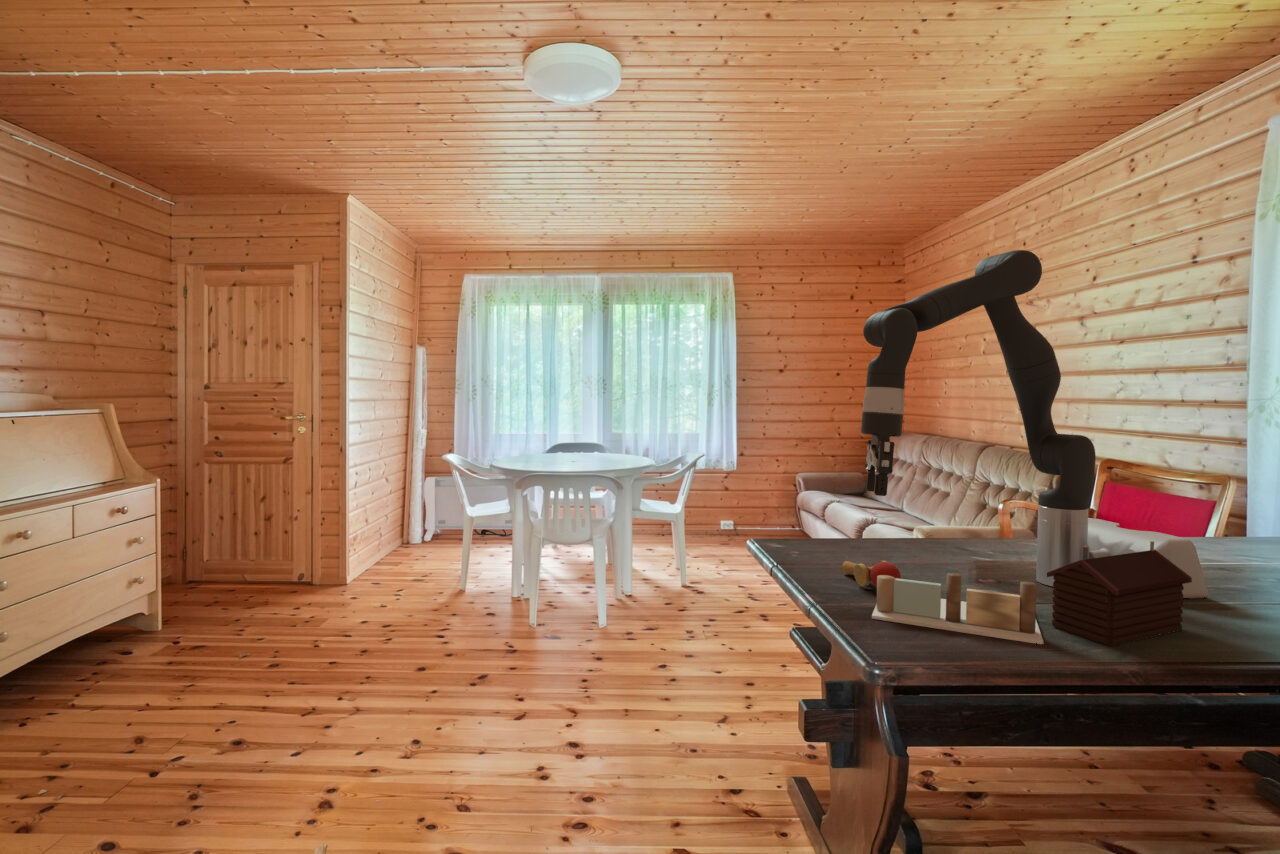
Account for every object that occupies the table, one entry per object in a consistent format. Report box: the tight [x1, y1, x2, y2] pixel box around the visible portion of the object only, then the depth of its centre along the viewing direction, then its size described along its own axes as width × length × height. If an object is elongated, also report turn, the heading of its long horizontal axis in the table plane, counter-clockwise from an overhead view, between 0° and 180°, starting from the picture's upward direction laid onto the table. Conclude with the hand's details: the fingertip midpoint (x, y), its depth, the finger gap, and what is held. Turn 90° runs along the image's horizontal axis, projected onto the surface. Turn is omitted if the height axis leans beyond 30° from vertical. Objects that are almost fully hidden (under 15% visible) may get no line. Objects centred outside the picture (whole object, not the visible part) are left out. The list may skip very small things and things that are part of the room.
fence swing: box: [876, 575, 942, 618], centre depth 117 cm, size 11×3×6 cm, turn 63°
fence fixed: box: [945, 572, 1038, 634], centre depth 111 cm, size 14×2×9 cm, turn 63°
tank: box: [1087, 517, 1210, 599], centre depth 139 cm, size 25×16×12 cm, turn 7°
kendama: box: [841, 560, 902, 588], centre depth 137 cm, size 8×6×18 cm
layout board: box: [871, 598, 1044, 645], centre depth 118 cm, size 27×17×1 cm, turn 63°
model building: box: [1047, 541, 1192, 647], centre depth 111 cm, size 21×12×15 cm, turn 112°
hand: (875, 493), depth 123 cm, fingers open, 8 cm apart
